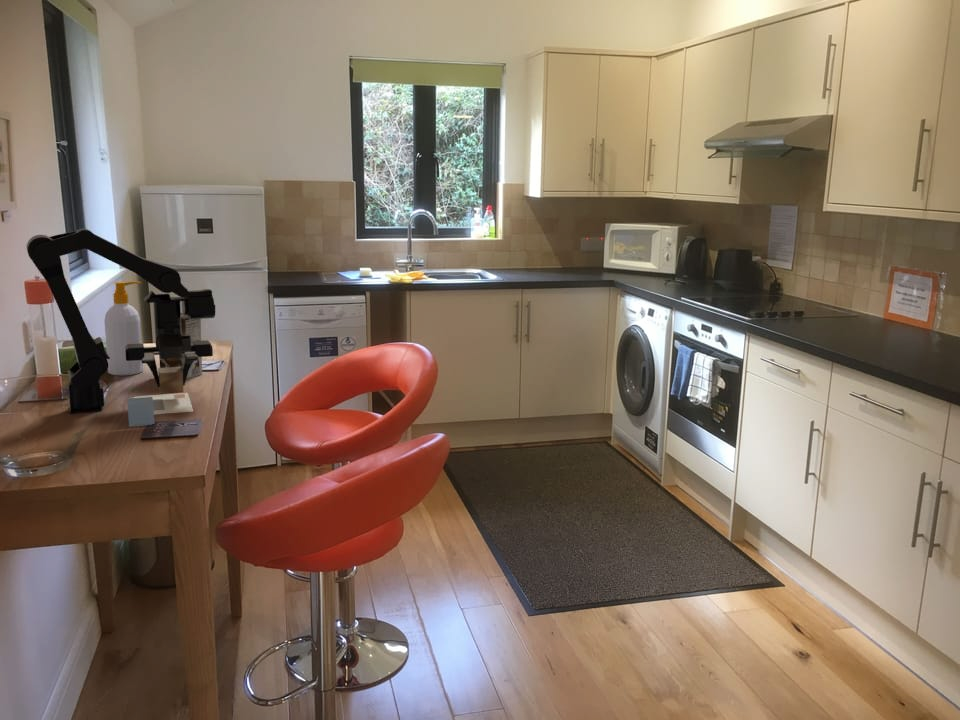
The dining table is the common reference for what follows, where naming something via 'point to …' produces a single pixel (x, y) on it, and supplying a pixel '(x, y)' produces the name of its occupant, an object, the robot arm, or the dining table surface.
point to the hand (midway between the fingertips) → (171, 386)
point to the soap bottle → (122, 333)
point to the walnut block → (170, 380)
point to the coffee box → (194, 331)
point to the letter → (170, 403)
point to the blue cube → (140, 411)
